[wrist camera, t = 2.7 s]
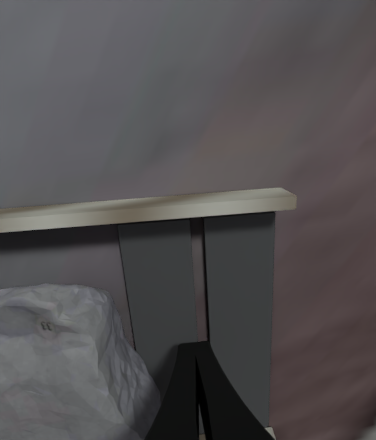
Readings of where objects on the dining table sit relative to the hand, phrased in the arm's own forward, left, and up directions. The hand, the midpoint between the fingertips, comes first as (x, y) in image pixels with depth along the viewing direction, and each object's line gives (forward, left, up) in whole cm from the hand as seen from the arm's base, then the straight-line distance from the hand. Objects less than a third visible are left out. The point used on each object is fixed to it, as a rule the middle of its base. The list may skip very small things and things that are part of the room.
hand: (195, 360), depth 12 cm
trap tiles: (-1, 0, -1) cm, 1 cm away
